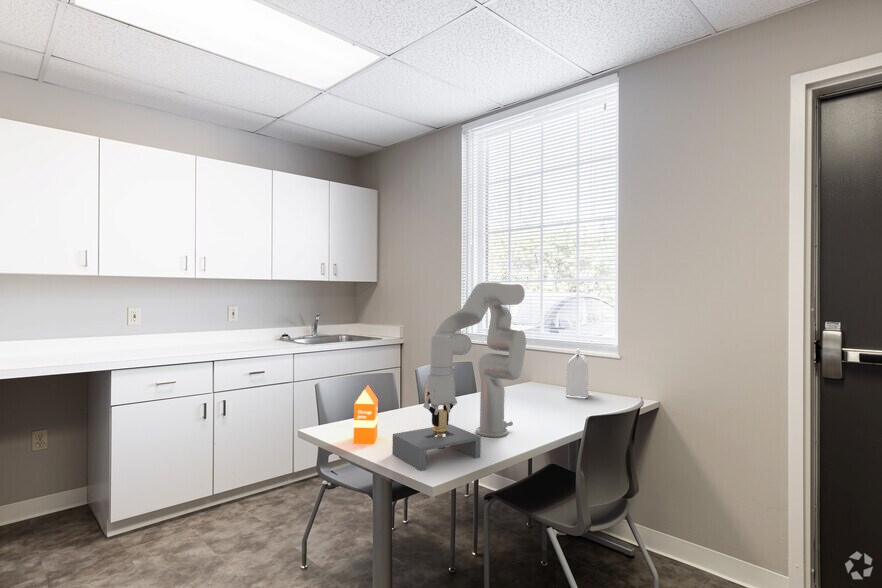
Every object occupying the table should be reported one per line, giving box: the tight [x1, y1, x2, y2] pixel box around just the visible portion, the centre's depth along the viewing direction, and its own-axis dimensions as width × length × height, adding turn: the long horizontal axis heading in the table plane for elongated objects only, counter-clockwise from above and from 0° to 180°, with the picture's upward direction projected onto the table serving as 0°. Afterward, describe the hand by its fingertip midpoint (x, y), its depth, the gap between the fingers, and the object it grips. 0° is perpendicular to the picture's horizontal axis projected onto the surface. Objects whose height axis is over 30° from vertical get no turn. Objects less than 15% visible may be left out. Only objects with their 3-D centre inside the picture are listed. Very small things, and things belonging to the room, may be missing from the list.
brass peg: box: [432, 408, 447, 450], centre depth 165 cm, size 5×5×12 cm
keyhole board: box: [391, 423, 482, 472], centre depth 164 cm, size 24×18×7 cm
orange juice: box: [353, 384, 379, 445], centre depth 180 cm, size 8×9×20 cm
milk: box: [565, 348, 589, 398], centre depth 266 cm, size 12×12×26 cm
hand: (440, 424), depth 165 cm, fingers closed on brass peg, 3 cm apart
